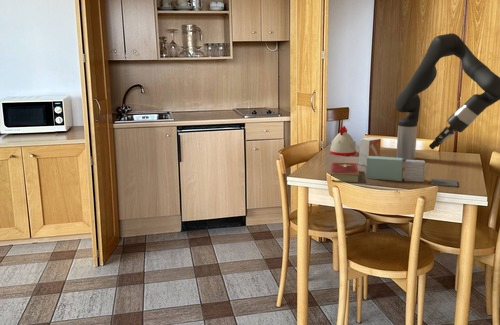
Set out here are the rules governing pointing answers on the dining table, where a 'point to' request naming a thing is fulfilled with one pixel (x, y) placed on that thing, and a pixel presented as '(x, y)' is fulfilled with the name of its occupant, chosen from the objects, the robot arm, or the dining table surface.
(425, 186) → the dining table surface
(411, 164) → the grey upright block
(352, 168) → the hardcover book
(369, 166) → the block
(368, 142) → the small box
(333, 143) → the cream red beanie hat
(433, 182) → the rubber mat
